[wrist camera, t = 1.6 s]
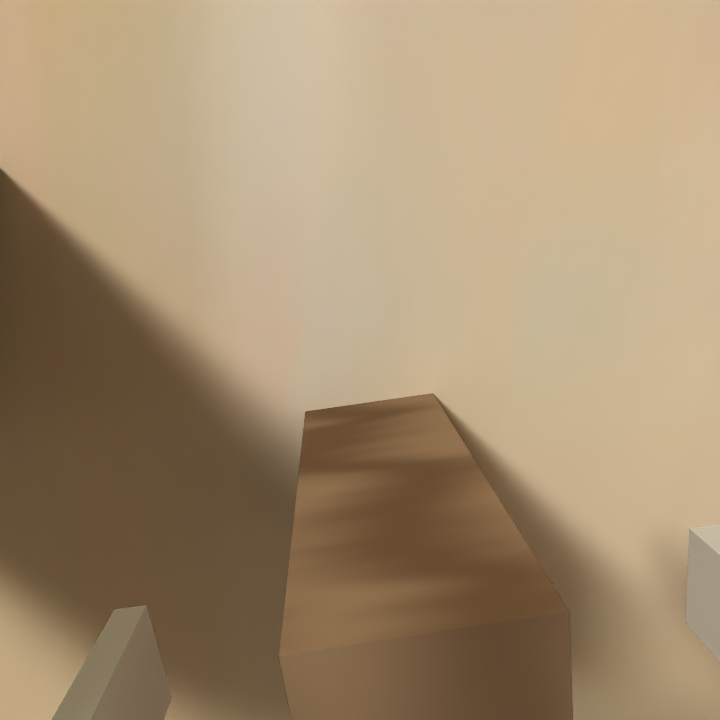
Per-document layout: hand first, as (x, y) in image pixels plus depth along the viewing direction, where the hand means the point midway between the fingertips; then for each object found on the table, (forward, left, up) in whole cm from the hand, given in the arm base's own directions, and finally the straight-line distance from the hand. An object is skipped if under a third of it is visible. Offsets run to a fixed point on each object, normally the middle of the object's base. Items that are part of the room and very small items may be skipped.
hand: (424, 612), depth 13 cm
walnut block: (0, 0, -9) cm, 9 cm away
